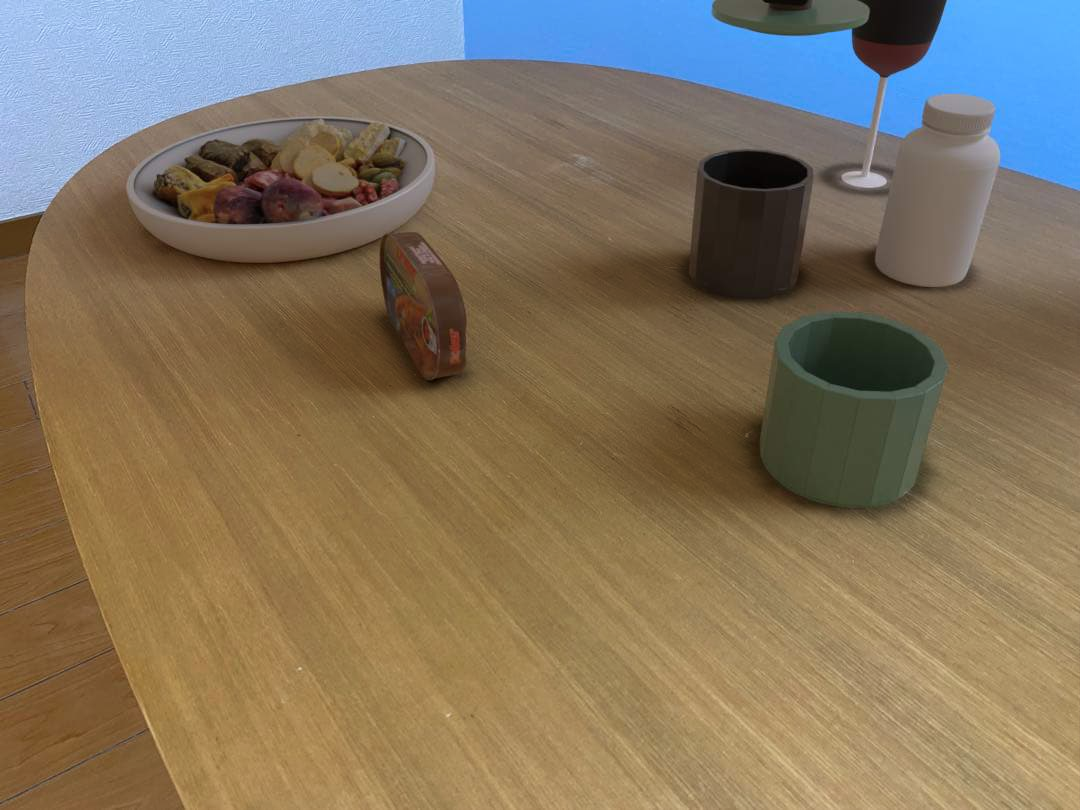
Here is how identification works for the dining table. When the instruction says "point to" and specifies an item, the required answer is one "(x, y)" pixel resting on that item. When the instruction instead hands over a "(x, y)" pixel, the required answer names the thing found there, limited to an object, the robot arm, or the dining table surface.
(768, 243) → the cup
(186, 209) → the bowl
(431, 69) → the dining table surface
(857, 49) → the wineglass
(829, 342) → the can
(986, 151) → the pill bottle
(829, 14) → the lid
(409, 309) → the tin
